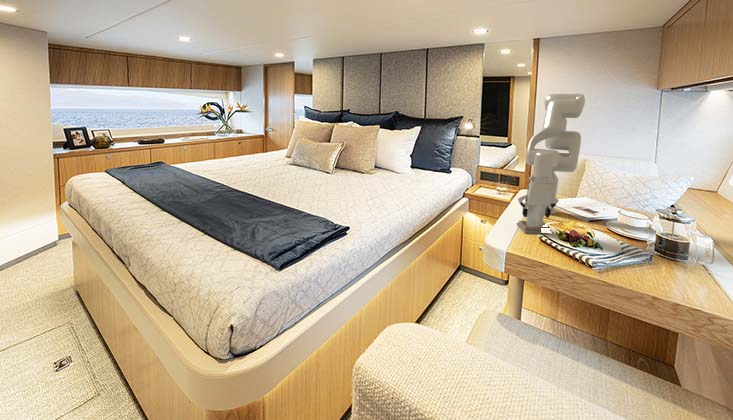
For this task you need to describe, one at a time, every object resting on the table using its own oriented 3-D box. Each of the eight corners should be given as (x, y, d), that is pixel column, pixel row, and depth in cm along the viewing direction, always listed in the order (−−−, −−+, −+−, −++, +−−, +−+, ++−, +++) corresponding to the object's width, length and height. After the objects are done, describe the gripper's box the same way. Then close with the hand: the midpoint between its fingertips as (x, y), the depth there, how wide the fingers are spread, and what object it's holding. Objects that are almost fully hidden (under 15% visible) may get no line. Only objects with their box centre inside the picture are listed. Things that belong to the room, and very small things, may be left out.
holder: (516, 224, 174) (517, 219, 173) (542, 225, 173) (543, 220, 172) (524, 233, 162) (525, 228, 162) (552, 234, 161) (553, 229, 160)
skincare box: (542, 228, 166) (546, 202, 163) (536, 229, 164) (540, 204, 160) (530, 224, 171) (534, 199, 168) (524, 226, 169) (528, 201, 165)
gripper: (523, 181, 158) (518, 218, 163) (564, 182, 156) (558, 219, 161) (518, 177, 165) (513, 213, 170) (557, 178, 164) (552, 214, 169)
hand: (535, 216), depth 166 cm, fingers open, 9 cm apart
